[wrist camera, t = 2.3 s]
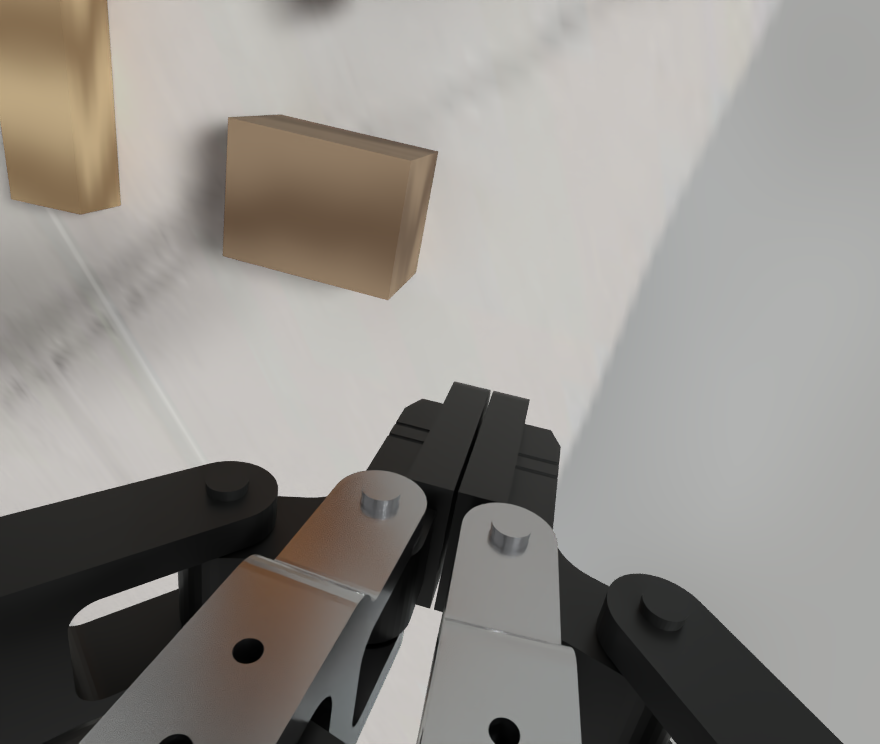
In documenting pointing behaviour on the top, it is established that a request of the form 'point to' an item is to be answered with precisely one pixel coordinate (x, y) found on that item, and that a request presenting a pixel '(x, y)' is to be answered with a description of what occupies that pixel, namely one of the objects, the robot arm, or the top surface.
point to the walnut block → (325, 202)
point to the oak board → (58, 104)
